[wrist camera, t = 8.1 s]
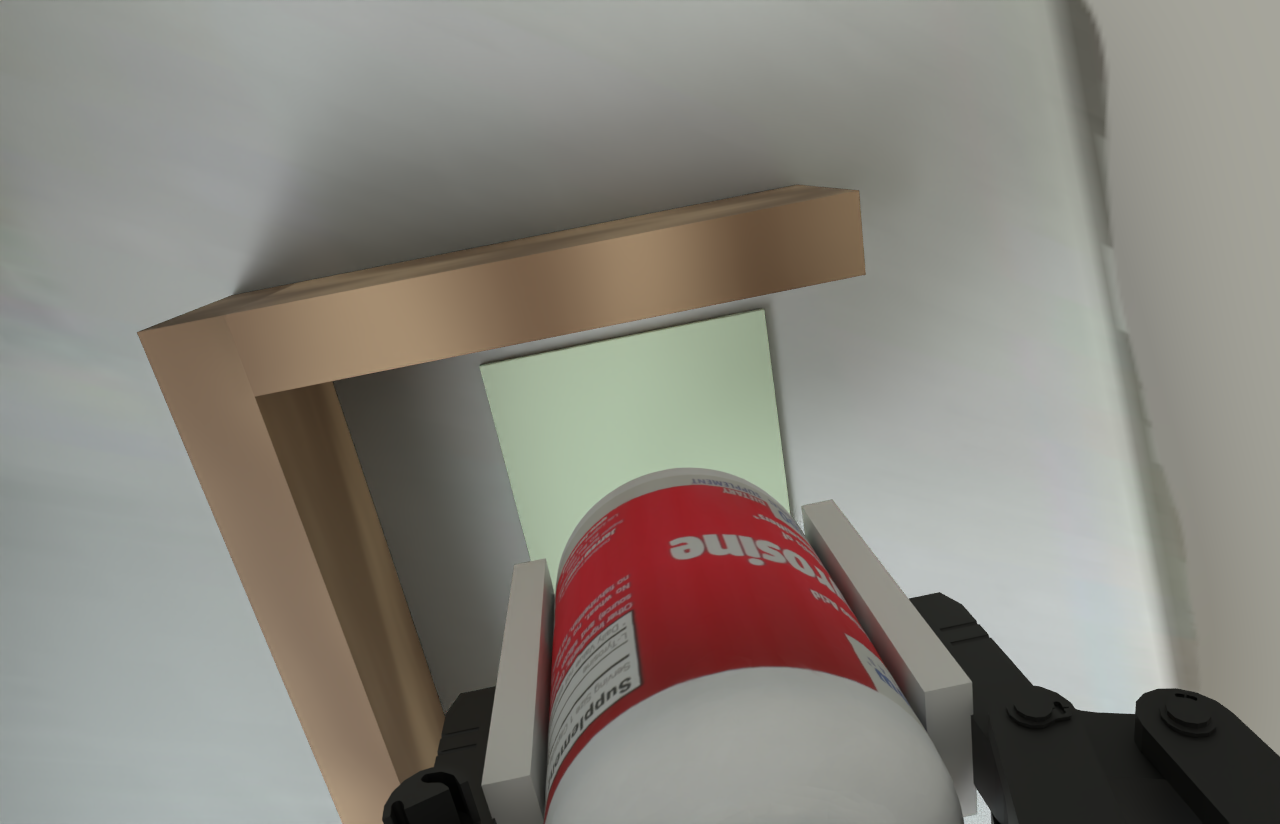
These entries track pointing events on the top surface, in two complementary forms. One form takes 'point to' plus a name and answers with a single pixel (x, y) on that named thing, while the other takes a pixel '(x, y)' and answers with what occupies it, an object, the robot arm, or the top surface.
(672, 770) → the pill bottle
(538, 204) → the top surface
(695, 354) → the pad
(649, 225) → the corner barrier
